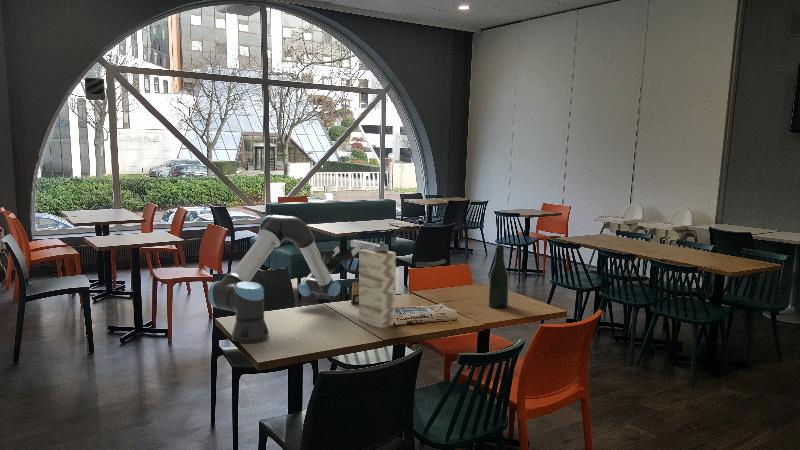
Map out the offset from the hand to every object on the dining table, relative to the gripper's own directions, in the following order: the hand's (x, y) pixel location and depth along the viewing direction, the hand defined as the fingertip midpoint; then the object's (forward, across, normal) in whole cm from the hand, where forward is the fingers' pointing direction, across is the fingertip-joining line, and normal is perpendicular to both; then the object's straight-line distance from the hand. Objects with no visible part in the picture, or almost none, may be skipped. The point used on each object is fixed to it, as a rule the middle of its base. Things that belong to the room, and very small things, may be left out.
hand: (348, 248), depth 275 cm
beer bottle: (+17, +70, +45) cm, 85 cm away
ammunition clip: (-27, +17, +21) cm, 38 cm away
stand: (+2, +2, +40) cm, 40 cm away
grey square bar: (+15, 0, +7) cm, 17 cm away
